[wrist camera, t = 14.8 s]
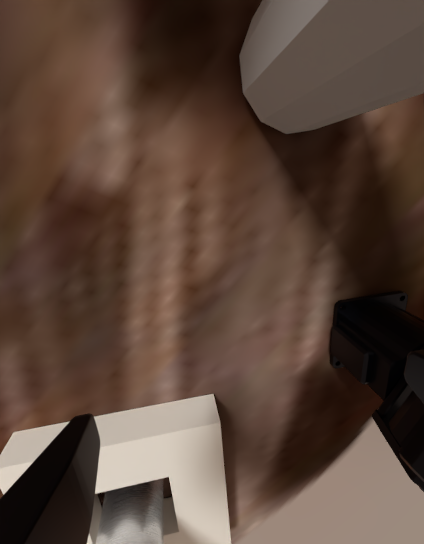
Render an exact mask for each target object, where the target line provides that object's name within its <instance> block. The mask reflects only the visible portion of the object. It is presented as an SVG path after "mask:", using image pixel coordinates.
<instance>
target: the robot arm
mask: <svg viewBox="0 0 424 544" xmlns="http://www.w3.org/2000/svg"><path fill="white" fill-rule="evenodd" d="M400 297H401V298H400ZM407 299H408V295H407V294H406V293H404V292H402V291H397V292H391V293H384V294H378V295H372V296H365V297H359V298H352V299H346V300H340V301H338V302H337V303H336V304H335V308H334V320H333V328H332V337H331V350H330V351H331V358H330V363H331V365H332V366H333V367H334V368H341V367H346V368H347V369H348V370H349V371H350V372H351V373H352V374H353V375H354V376H355V377H356V379H357V380H358V381H359V382H361V383H362V384H368V385H369V386H370V387H371V388H372V389H373V390H374V391H375V392H376V393H377V394H378V395H379V396H380V397H381V398H382V399H383V400H384V402H383V403H382V405H381V406H380V407H379V409H378V410H375V412H374V413H373V414H372V417H373V419H374V421H375V422H376V424H377V425H378V427H379V429H380V431H381V432H382V434H383V436H384V437H385V439H386V440H387V442H388V444H389V445H390V447H391V448H392V450H393V452H394V453H395V455H396V456H397V458H398V460H399V461H400V463H401V465H402V466H403V468H404V469H405V471H406V473H407V474H408V476H409V477H410V479H411V480H412V481H413V482H414V483H416V484H417V485H418V486H419V487H420V489H421V490H422V491H423V492H424V321H423V320H422V319H420V318H418V317H416V316H414V315H412V314H410V313H408V312H407V311H405V310H406V304H407ZM342 305H343V307H342V308H340V307H341V306H342ZM99 453H100V436H99V432H98V429H97V426H96V422H95V419H94V416H93V415H92V414H84V415H79V416H75V417H74V418H73V419H72V420H71V421H70V422H69V423H68V424H67V425H66V426H65V427H64V428H63V430H62V431H61V432H60V433H59V434H58V435H57V436H56V437H55V438H54V440H53V441H52V442H51V443H50V444H49V445H48V446H47V447H46V448H45V450H44V451H43V452H42V453H41V454H40V455H39V456H38V457H37V458H36V460H35V461H34V462H33V463H32V464H31V465H30V466H29V467H28V468H27V470H26V471H25V472H24V473H23V474H22V475H21V476H20V477H19V478H18V479H17V481H16V482H15V483H14V484H13V485H12V486H11V487H10V488H9V489H8V491H7V492H6V493H5V494H4V495H3V496H2V497H1V498H0V544H87V541H88V536H89V531H90V526H91V520H92V513H93V506H94V497H95V488H96V480H97V471H98V462H99Z"/></svg>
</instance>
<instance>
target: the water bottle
mask: <svg viewBox="0 0 424 544" xmlns="http://www.w3.org/2000/svg"><path fill="white" fill-rule="evenodd" d="M239 58H240V68H241V78H242V88H243V94H244V96H245V97H246V99H247V100H248V102H249V104H250V105H251V107H252V109H253V110H254V112H255V113H256V115H257V117H258V118H259V120H260V121H261V122H263V123H265V124H267V125H269V126H271V127H273V128H275V129H277V130H279V131H281V132H283V133H285V134H290V133H297V132H303V131H310V130H315V129H318V128H321V127H324V126H327V125H330V124H333V123H336V122H339V121H342V120H345V119H348V118H351V117H354V116H357V115H360V114H363V113H366V112H369V111H372V110H375V109H378V108H381V107H384V106H387V105H389V104H392V103H395V102H398V101H401V100H404V99H407V98H410V97H413V96H416V95H419V94H422V93H424V0H262V2H261V4H260V5H259V7H258V9H257V11H256V13H255V14H254V16H253V18H252V20H251V23H250V26H249V29H248V32H247V35H246V38H245V41H244V44H243V46H242V49H241V52H240V55H239Z"/></svg>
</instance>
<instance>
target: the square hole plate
mask: <svg viewBox="0 0 424 544" xmlns="http://www.w3.org/2000/svg"><path fill="white" fill-rule="evenodd" d="M94 419H95V422H96V426H97V429H98V432H99V436H100V453H99V462H98V471H97V480H96V488H95V497H94V506H93V513H92V520H91V526H90V531H89V536H88V541H87V544H96V539H97V534H98V528H99V523H100V517H101V512H102V507H101V504H100V500H99V497H98V494H97V493H101V492H105V491H110V490H114V489H118V488H123V487H127V486H131V485H136V484H140V483H144V482H149V481H153V480H157V479H162V478H166V477H169V480H170V486H171V491H172V497H168V498H164V499H163V518H164V544H231V537H230V526H229V515H228V503H227V492H226V481H225V469H224V458H223V447H222V435H221V424H220V419H219V415H218V411H217V406H216V402H215V398H214V394H209V395H204V396H199V397H194V398H189V399H183V400H178V401H173V402H168V403H163V404H158V405H152V406H147V407H142V408H137V409H132V410H127V411H121V412H116V413H111V414H106V415H101V416H95V417H94ZM68 423H69V422H64V423H59V424H54V425H49V426H44V427H38V428H33V429H28V430H23V431H18V432H14V433H13V434H12V436H11V438H10V439H9V441H8V443H7V445H6V446H5V448H4V450H3V451H2V453H1V455H0V489H1V491H2V493H3V495H4V494H5V493H6V492H7V491H8V489H9V488H10V487H11V486H12V485H13V484H14V483H15V482H16V481H17V479H18V478H19V477H20V476H21V475H22V474H23V473H24V472H25V471H26V470H27V468H28V467H29V466H30V465H31V464H32V463H33V462H34V461H35V460H36V458H37V457H38V456H39V455H40V454H41V453H42V452H43V451H44V450H45V448H46V447H47V446H48V445H49V444H50V443H51V442H52V441H53V440H54V438H55V437H56V436H57V435H58V434H59V433H60V432H61V431H62V430H63V428H64V427H65V426H66V425H67V424H68Z"/></svg>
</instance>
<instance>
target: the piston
mask: <svg viewBox="0 0 424 544" xmlns="http://www.w3.org/2000/svg"><path fill="white" fill-rule="evenodd" d="M96 544H164V518H163V478H162V479H157V480H153V481H149V482H144V483H140V484H136V485H131V486H127V487H123V488H118V489H114V490H110V491H105V495H104V501H103V506H102V512H101V517H100V523H99V528H98V534H97V539H96Z"/></svg>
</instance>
